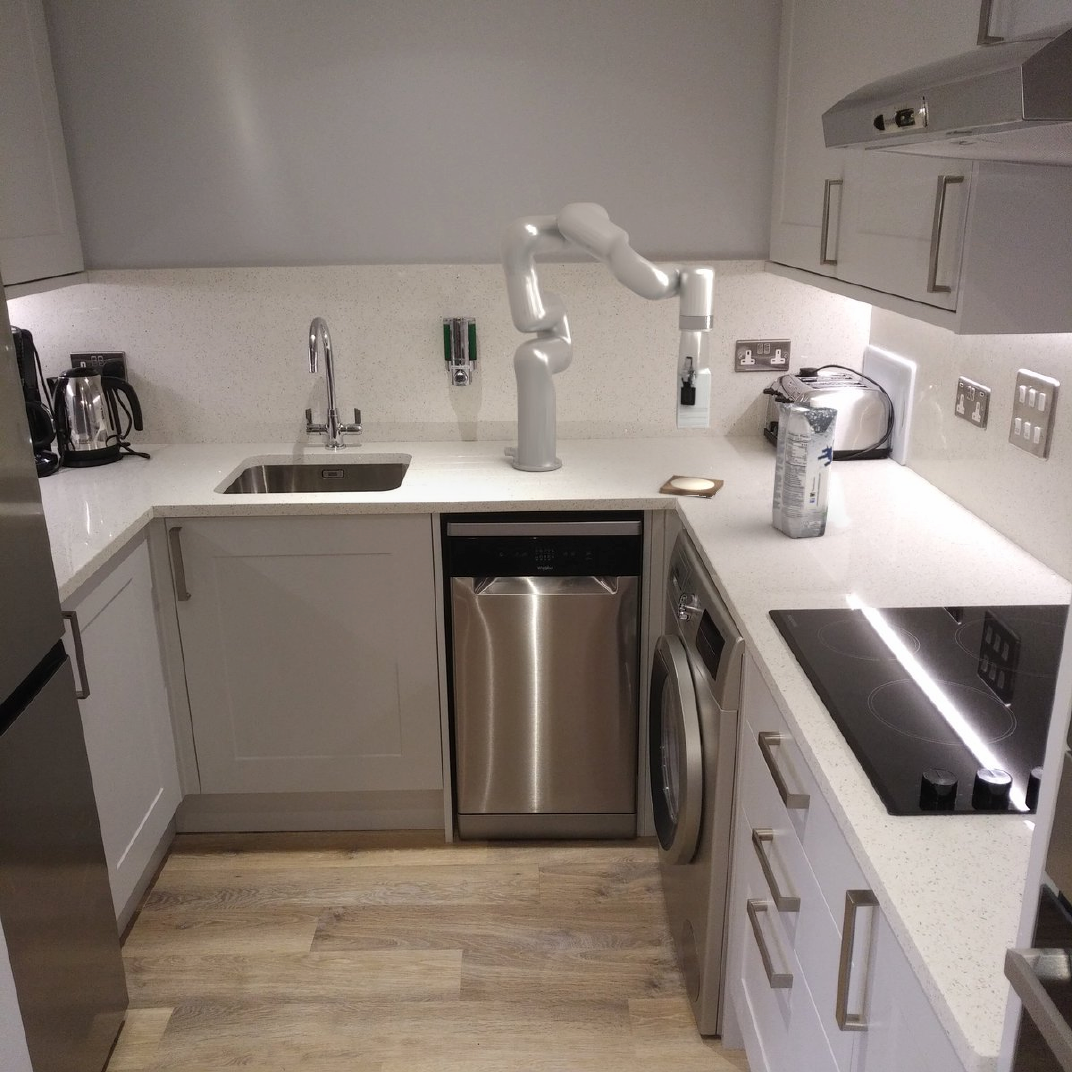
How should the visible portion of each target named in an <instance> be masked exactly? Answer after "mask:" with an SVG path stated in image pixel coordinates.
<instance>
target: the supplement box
mask: <svg viewBox="0 0 1072 1072" xmlns="http://www.w3.org/2000/svg"><path fill="white" fill-rule="evenodd" d="M676 376H677V378H676V405H675V407H676V408H675V409H676V410H675V422H676V427H677V430H679V429H680V430H681V429H683V430H684V429H685V430H686V429H687V430H688V429H690V430H691V429H693V430H696V429H698V430H699V429H700V430H703V429H704V430H705V429H710V419H711V418H710V415H711V414H710V413H711V389H712V387H711V385H712V373H711V370H710V368H709V367H708V368H707V369H706V370H704V371H702V372H701V373H700V375H699V376H698V377H696V381H695V386H694V387H696V398H695V405H694V406H691V405H681V382H682V380H681V379H682V377H683V376H682V374H680V375H678V374H677V373H676ZM691 381H692V378H691Z"/></svg>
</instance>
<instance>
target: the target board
mask: <svg viewBox="0 0 1072 1072" xmlns="http://www.w3.org/2000/svg"><path fill="white" fill-rule="evenodd" d="M723 486H724V479H714V478H704V477H695V476H685V475H674V474H673V475H672V476H671V477H670V478H669V479H668V480H667V481H666V482H665V483H664V484H663V485H661V486H660V488H659V494H663V495H664V494H665V495H673V496H674V495H676V496H683V495H699V496H706V497H712V496H713V495H714V496H716V494H717V493H718V492H719V491H720V490H721V489H722V487H723ZM719 489H720V490H719ZM718 490H719V491H718ZM717 491H718V492H717ZM716 492H717V493H716Z"/></svg>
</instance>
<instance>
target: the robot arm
mask: <svg viewBox="0 0 1072 1072" xmlns="http://www.w3.org/2000/svg"><path fill="white" fill-rule="evenodd" d="M560 210H561V211H560V212H559V213H556V214H551V215H550V214H549V215H527V216H523V217H519V218H518V219H515V220H514V221H513V222H511V223H510V224H509V225H508V226H507V227H506V228H505V230H504V231H503V233H502V236H501V239H500V241H499V242H500V243H499V255H500V256H499V258H500V262H501V265H502V269H503V273H504V279H505V283H506V291H507V297H508V303H509V309H510V315H511V319H512V323H513V326H514V328H515V329H516V331H518V332H520V333H522V334H536V338H532V339H529V340H526V341H524V342H522V343H521V344H520V345H519V346H518V347H517V349H516V350H515V352H514V355H513V360H512V361H513V363H512V364H513V368H514V369H513V370H514V375H515V380H516V391H517V392H516V393H517V395H516V396H517V397H516V399H517V446H515V447H512V446H504V447H503V453H504V456H507V457H508V456H511V457H513V460H511V465H512V468H514V469H517V470H520V471H526V472H548V471H554V470H557V469H560V468H561V467H562V466H563V460H562V459H561V458H559V457H557V450H556V449H557V397H556V396H557V395H556V393H557V392H556V386H555V384H554V382H553V381H554V380H553V376H552V375H555V374H560V373H563V372H564V371H566V370H567V369H568V368H569V367H570V366H571V364H572V362H573V357H574V349H573V348H574V347H573V341H572V340H573V339H572V335H571V329H570V321H569V315H568V311H567V307H566V305H565V303H564V302H565V301H563V299H562V298H561V296H559V295H558V294H557V293H555V292H553V291H550V290H544V289H543V288H544V287H543V284H542V276H541V271H540V269H539V267H538V265H537V262H536V260H535V259H534V255H535V254H544V253H552V252H553V253H555V252H560V251H564V250H568V249H571V248H574V247H578V248H579V249H581V250H582V251H584V252H585V253H587V254H588V255H590V256H592V257H593V258H594V259H596V260H597V261H599V262H600V263H602V264H603V265H604V266H605V267H606V268H607V270H608V271H609V272H610V274H611V275H612V276H613V278H614V279H615V280H616V281H617V282H619V283H620V284H621V285H623V286H624V287H625V288H627V289H628V290H629V291H631V292H633V293H634V294H636V295H637V296H639V297H640V298H642V299H645V300H648V301H653V302H654V301H661V300H665V299H672V298H677V297H678V298H679V306H678V307H679V308H678V310H679V311H678V331H680V332H681V333H680V336H679V337H680V338H679V344H678V354H677V357H678V359H677V371H676V375H677V374H678V375H680V374H682V376H683V377H682V379H681V380H682V382H681V405H691V406H694V405H695V398H696V387H694V386H695V381H696V377H698V376H699V375H700V373H701V372H702V371H704V370H706V369H707V368H709V357H710V356H709V352H710V349H709V348H710V346H709V345H710V333H709V332H712V331H713V330H714V319H715V318H714V314H715V313H714V312H715V295H716V294H715V291H716V269H715V268H714V267H713V266H712V265H705V264H701V265H700V264H695V265H694V264H692V265H686V264H685V265H684V264H680V263H674V262H672V263H671V262H668V263H659V264H655V263H653V262H651V261H649V260H648V259H646V258H644V257H643V256H641V255H640V254H639V253H637V252H636V251H635V250H634V249H633V248H632V247H631V246H630V245H629V242H630V236H629V234H628V232H627V231H626V230H624V229H623V228H621V227H620V226H618V225H616V224H615V223H614V222H612V221H611V220H610V216H609V214H608V212H607V211H606V209H605V208H604V206H602V205H601V204H598V203H596V202H589V201H588V202H572V203H570V204H567V205H565V206H564V207H563V208H562V209H560ZM691 378H692V381H691Z"/></svg>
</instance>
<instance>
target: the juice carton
mask: <svg viewBox="0 0 1072 1072" xmlns="http://www.w3.org/2000/svg"><path fill="white" fill-rule="evenodd" d="M825 405H826V399H823V398H819V397H817V398H815V397H811V398H810V400H809V401H799V402H797V401H796V402H785V403H784V402H783V403H780V404H779V413H778V415H779V417H778V419H779V420H778V429H777V441H776V457H775V467H774V468H775V470H774V481H773V482H774V484H773V494H772V507H771V508H772V509H771V510H772V511H771V516H772V517H771V519H772V522H771V524H772V527H774V528H775V529H777V528H778V529H777V530H779V529H780V530H779V531H781V532H782V531H783V532H782V533H784V534H785V533H786V535H787V536H788V535H789V536H788V537H790V536H791V537H790V538H791V539H798V538H797V537H802V538H809V537H808V536H812V537H821V536H824V535H825V532H826V527H827V526H826V525H827V520H828V512H829V510H828V509H829V500H830V491H831V490H830V489H831V480H832V467H833V457H834V447H835V434H836V425H837V424H836V423H837V417H838V410H837V409H835V408H833V407H826V406H825Z"/></svg>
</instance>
